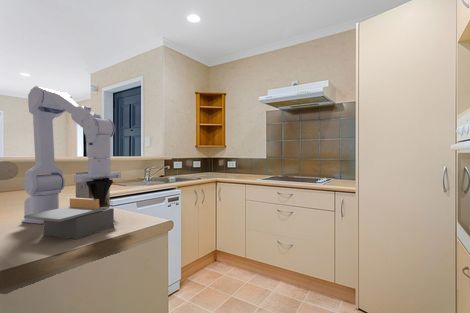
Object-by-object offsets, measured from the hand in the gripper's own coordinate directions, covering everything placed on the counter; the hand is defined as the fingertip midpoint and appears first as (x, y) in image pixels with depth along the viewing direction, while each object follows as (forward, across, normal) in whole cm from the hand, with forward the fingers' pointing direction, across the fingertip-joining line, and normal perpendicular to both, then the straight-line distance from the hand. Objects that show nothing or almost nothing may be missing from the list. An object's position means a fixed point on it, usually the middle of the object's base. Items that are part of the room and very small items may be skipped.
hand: (99, 204), depth 69 cm
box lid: (+1, -7, +4) cm, 8 cm away
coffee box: (+7, +10, +14) cm, 19 cm away
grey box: (+7, -3, +4) cm, 9 cm away
